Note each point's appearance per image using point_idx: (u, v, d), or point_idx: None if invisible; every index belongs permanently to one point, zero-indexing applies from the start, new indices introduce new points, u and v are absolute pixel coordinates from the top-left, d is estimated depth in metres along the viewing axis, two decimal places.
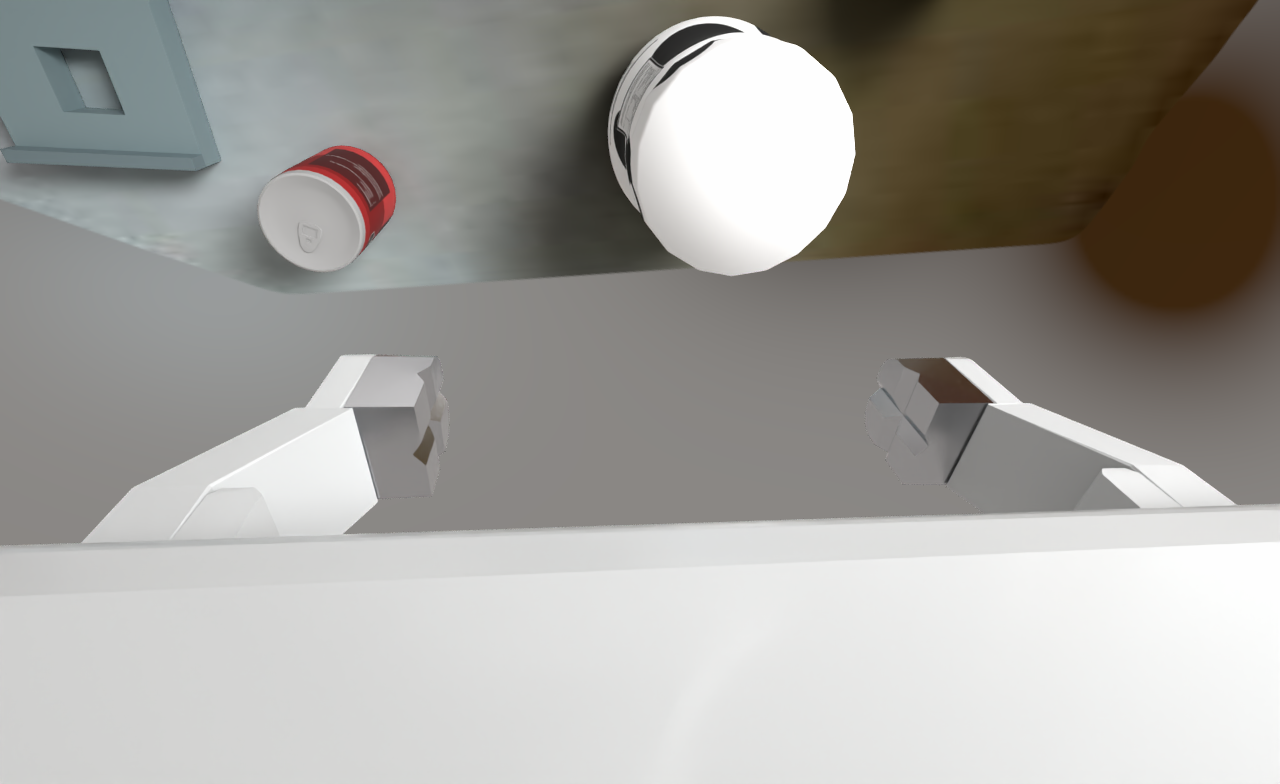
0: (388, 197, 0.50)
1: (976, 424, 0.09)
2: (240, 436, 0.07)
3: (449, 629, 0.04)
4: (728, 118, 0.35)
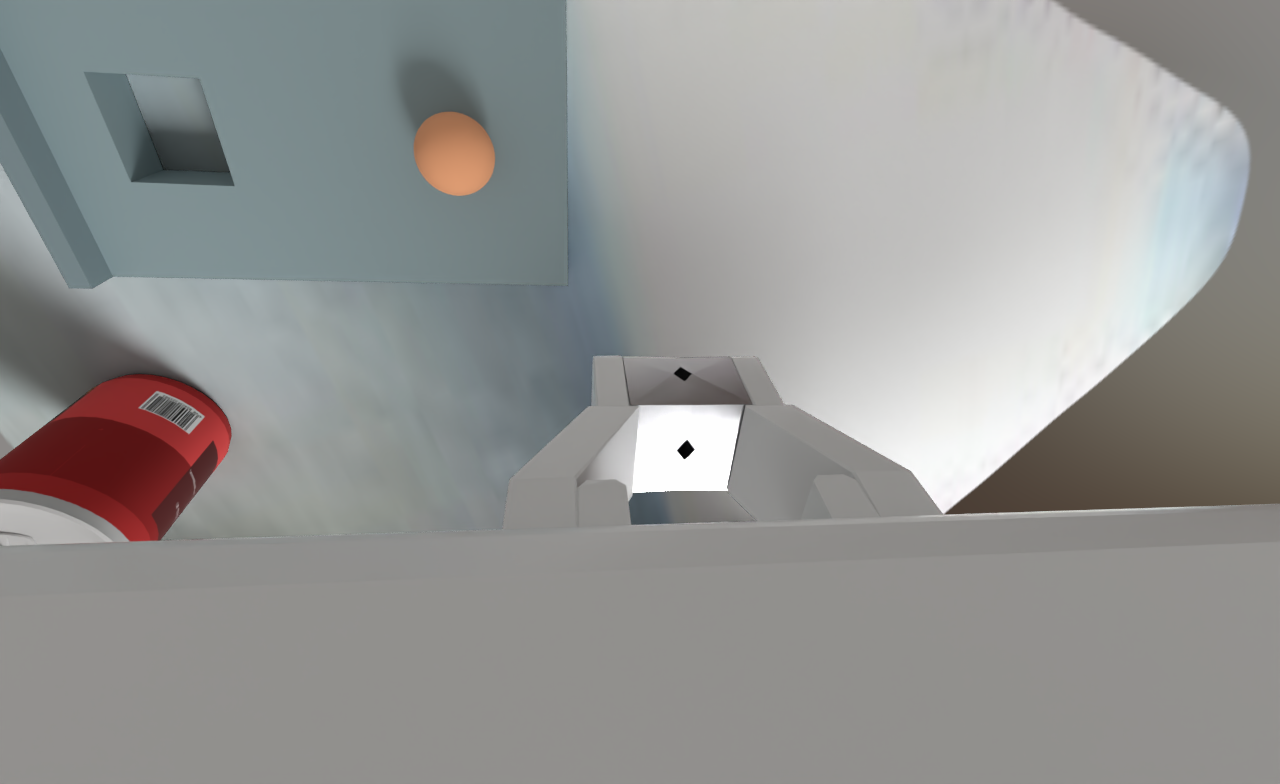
0: None
1: (739, 427, 0.09)
2: (563, 432, 0.07)
3: (449, 629, 0.04)
4: None
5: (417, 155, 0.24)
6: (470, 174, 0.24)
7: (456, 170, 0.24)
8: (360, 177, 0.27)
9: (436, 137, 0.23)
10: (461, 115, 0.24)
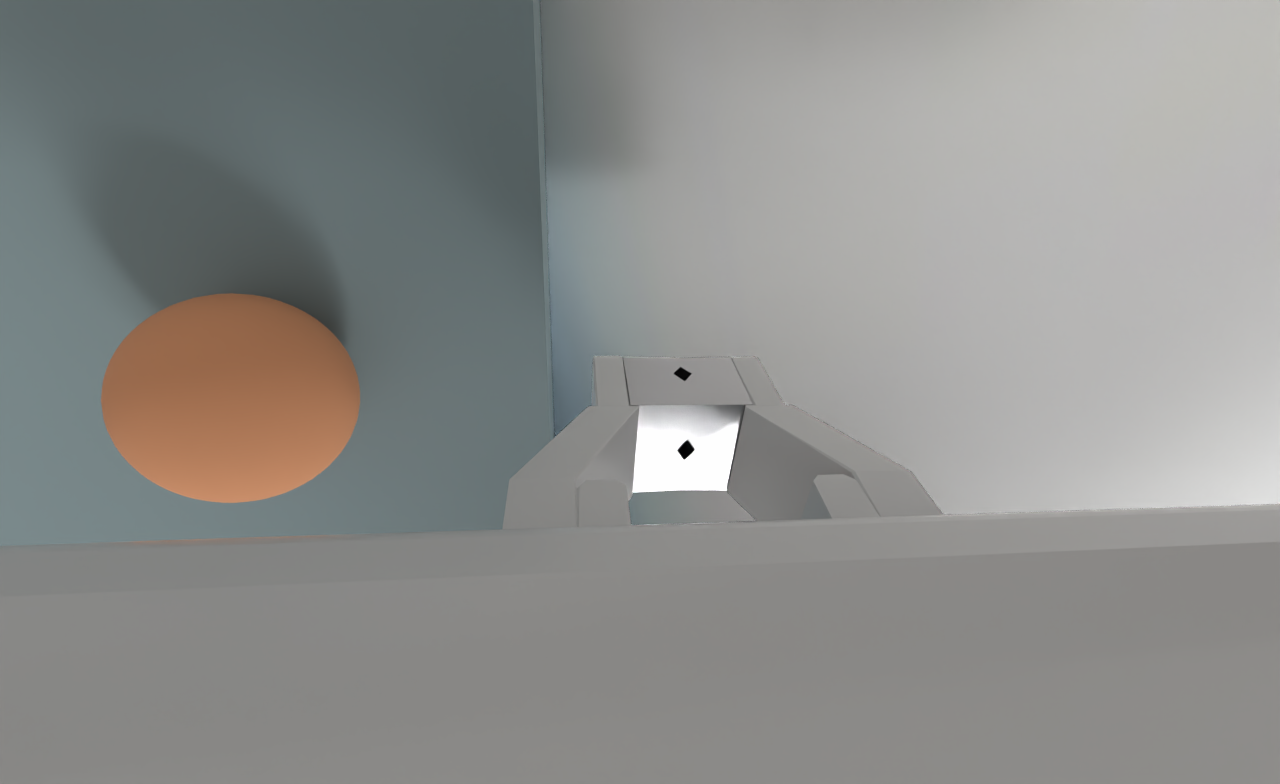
0: None
1: (739, 427, 0.09)
2: (563, 432, 0.07)
3: (449, 629, 0.04)
4: None
5: None
6: (268, 476, 0.09)
7: (218, 478, 0.08)
8: (49, 416, 0.11)
9: (141, 399, 0.08)
10: (236, 314, 0.08)
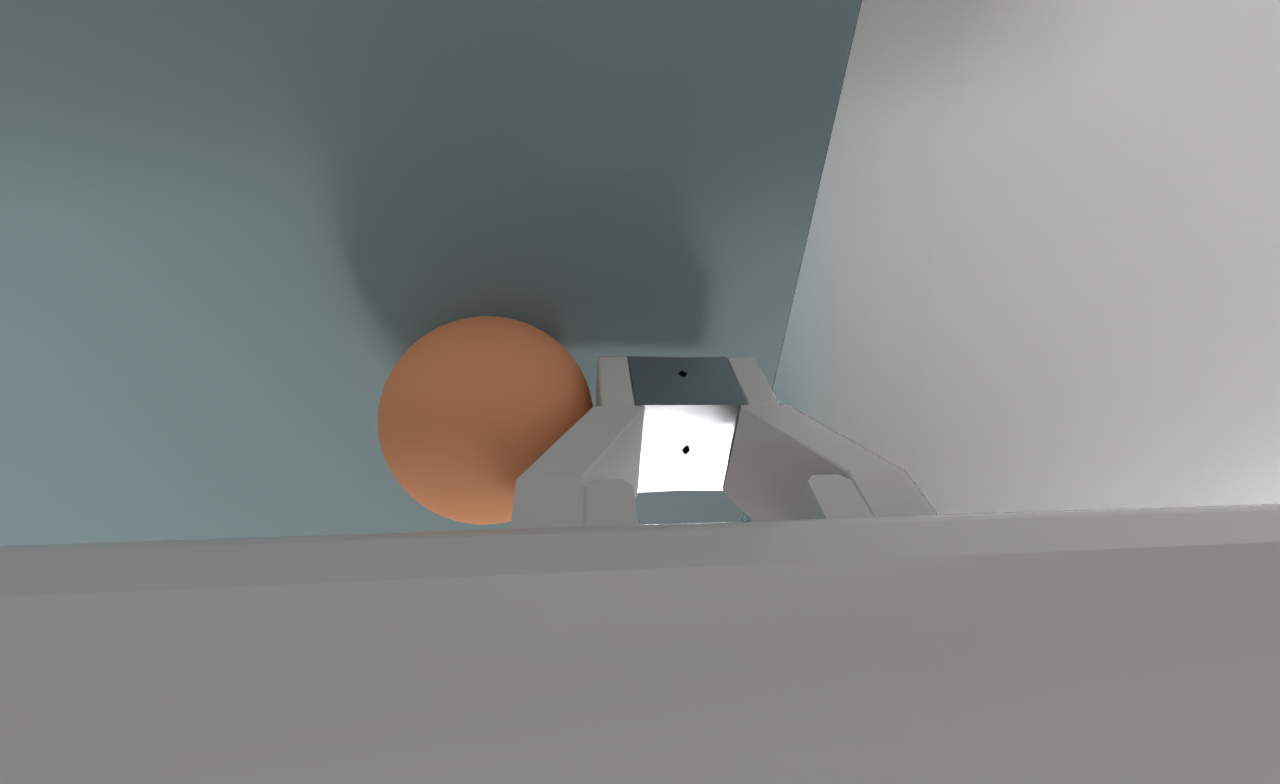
0: None
1: (734, 427, 0.09)
2: (569, 432, 0.07)
3: (449, 629, 0.04)
4: None
5: (379, 431, 0.09)
6: (497, 509, 0.08)
7: (455, 502, 0.08)
8: (294, 436, 0.11)
9: (411, 413, 0.08)
10: (505, 343, 0.08)
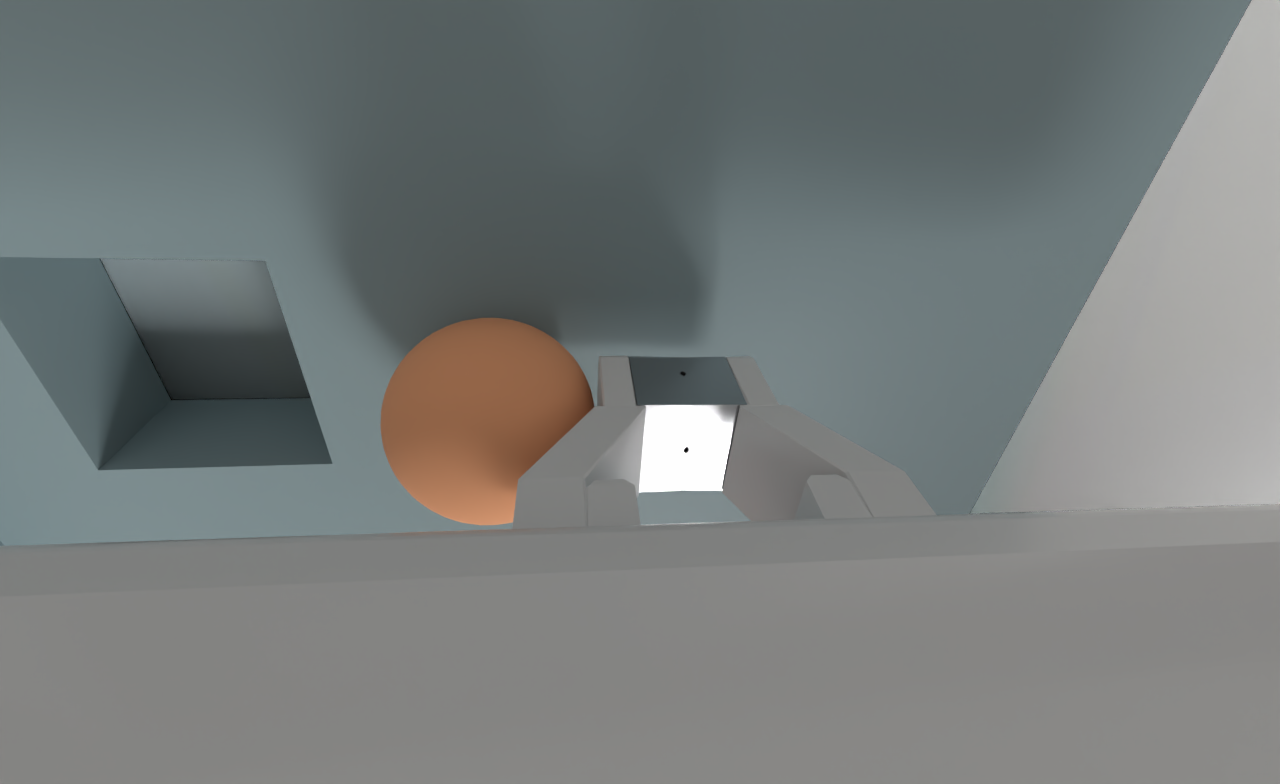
0: None
1: (733, 427, 0.09)
2: (571, 432, 0.07)
3: (449, 629, 0.04)
4: None
5: None
6: None
7: None
8: None
9: None
10: (474, 320, 0.09)
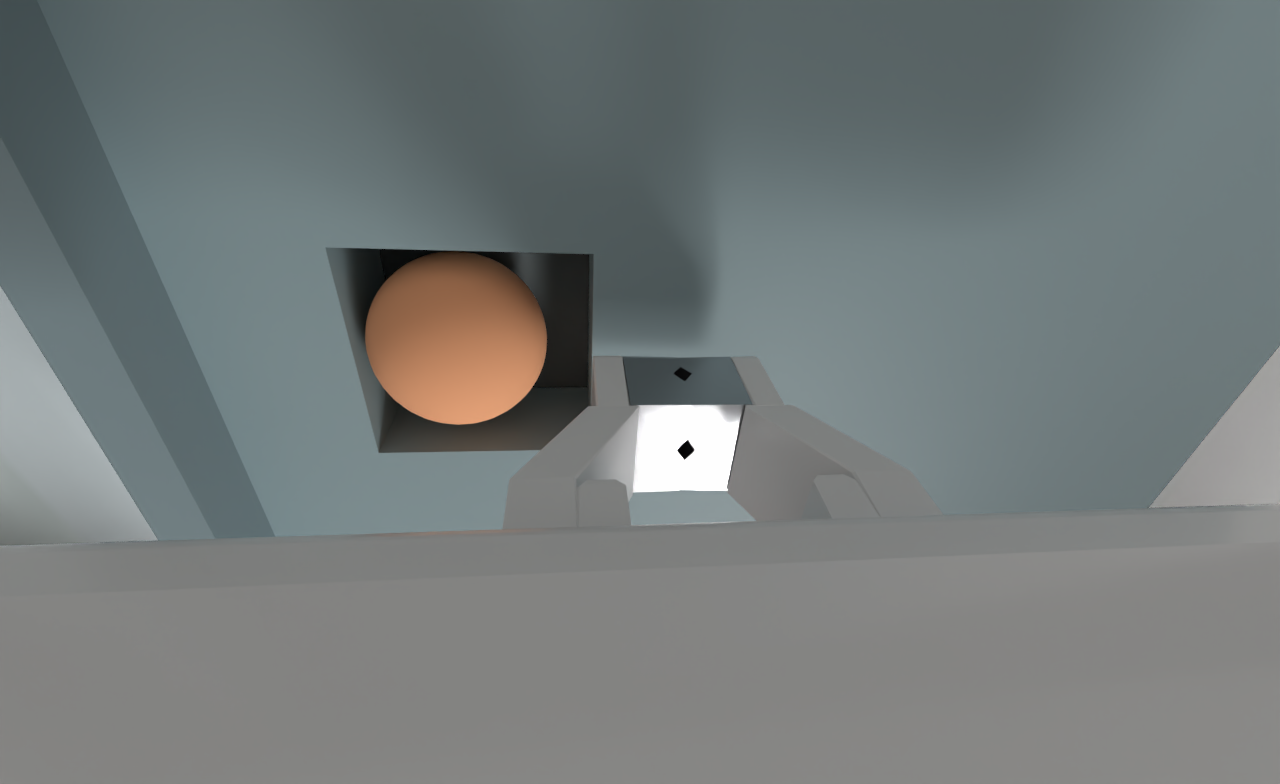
0: None
1: (739, 427, 0.09)
2: (563, 432, 0.07)
3: (449, 629, 0.04)
4: None
5: None
6: None
7: None
8: (845, 423, 0.13)
9: None
10: (423, 264, 0.10)
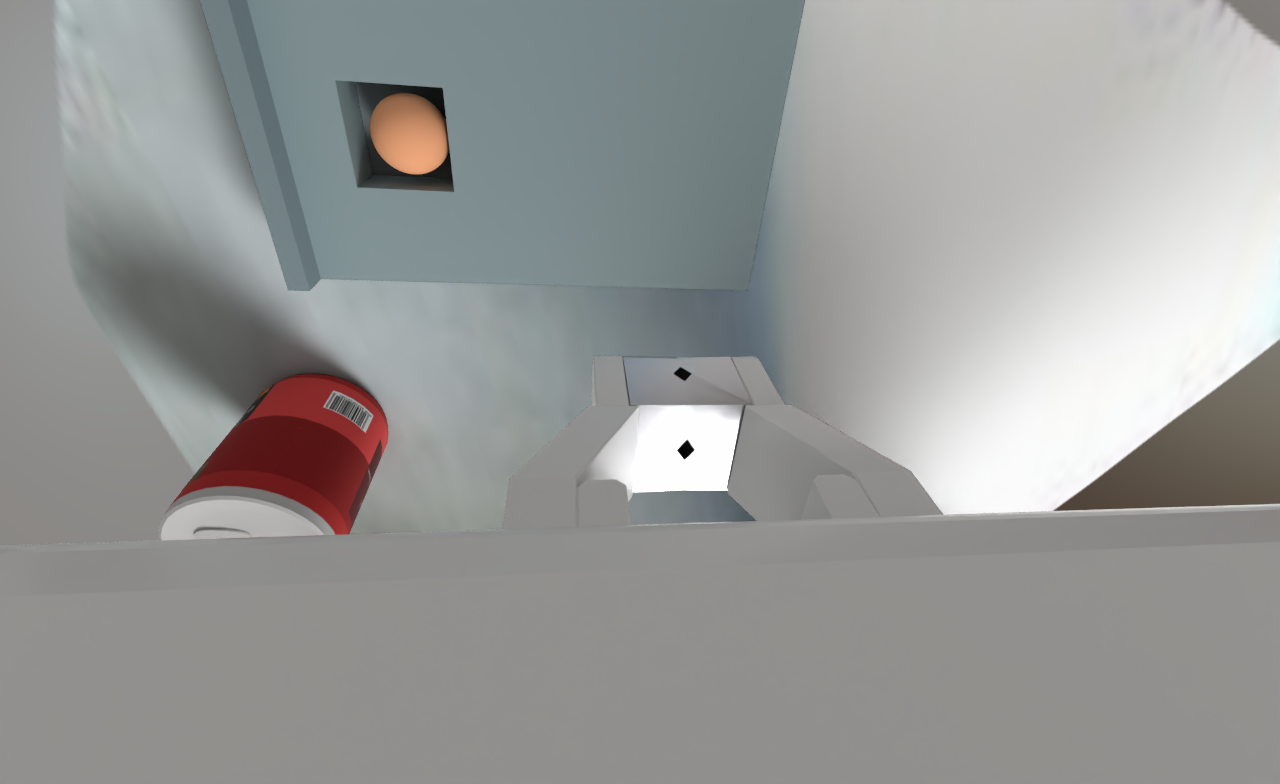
0: None
1: (739, 427, 0.09)
2: (563, 432, 0.07)
3: (449, 629, 0.04)
4: None
5: None
6: (374, 145, 0.26)
7: None
8: (574, 184, 0.27)
9: None
10: (396, 95, 0.25)
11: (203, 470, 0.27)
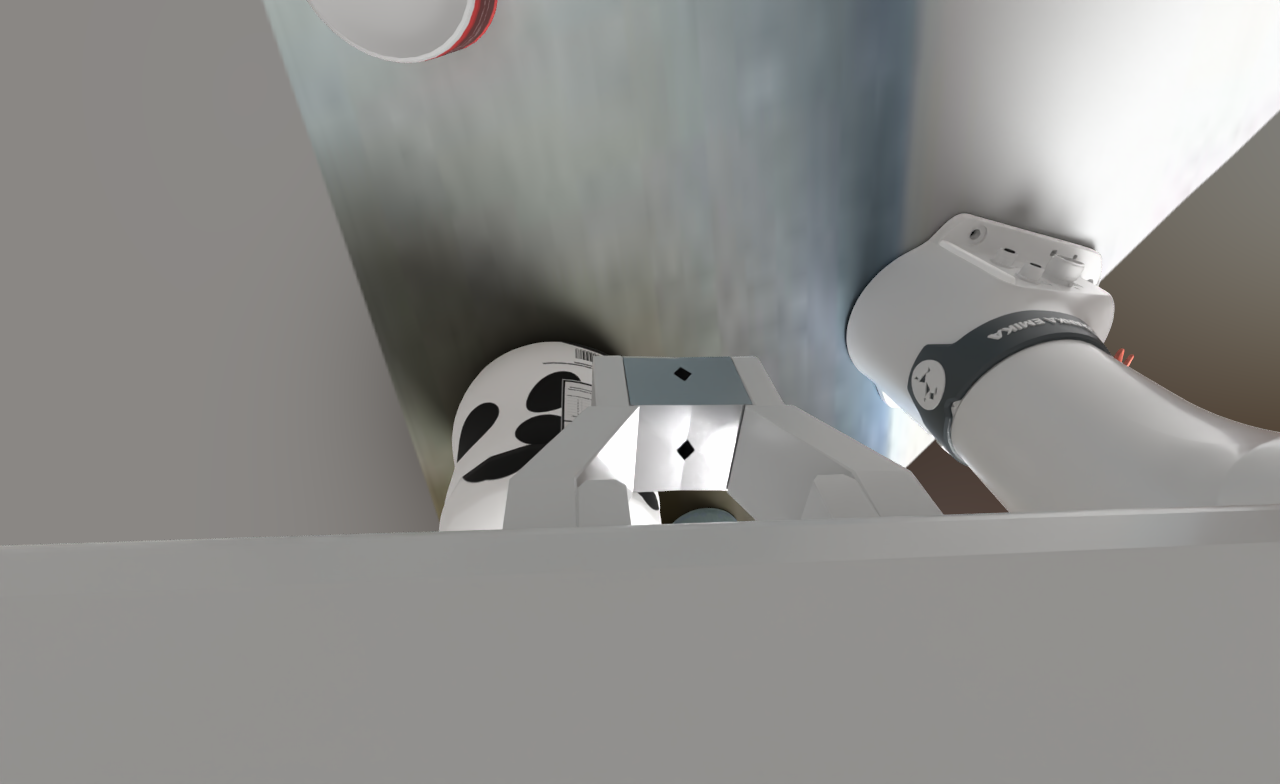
0: None
1: (739, 427, 0.09)
2: (563, 432, 0.07)
3: (449, 629, 0.04)
4: None
5: None
6: None
7: None
8: None
9: None
10: None
11: None
